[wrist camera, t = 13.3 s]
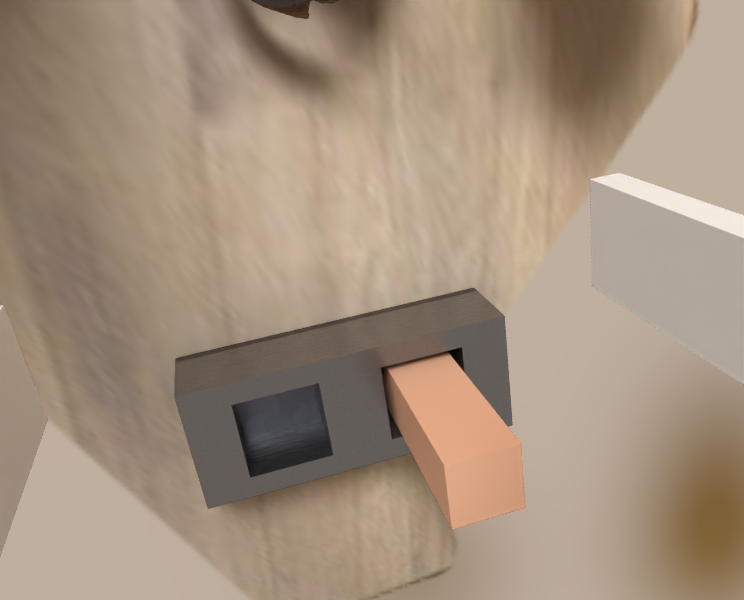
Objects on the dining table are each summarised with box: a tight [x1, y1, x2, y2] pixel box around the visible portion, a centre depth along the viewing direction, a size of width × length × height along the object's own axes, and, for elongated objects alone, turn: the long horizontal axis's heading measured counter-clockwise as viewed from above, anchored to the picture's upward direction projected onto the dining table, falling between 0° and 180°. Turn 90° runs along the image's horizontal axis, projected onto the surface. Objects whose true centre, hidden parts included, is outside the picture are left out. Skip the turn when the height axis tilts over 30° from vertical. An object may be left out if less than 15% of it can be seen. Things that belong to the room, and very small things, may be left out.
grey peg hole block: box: [174, 288, 512, 509], centre depth 45 cm, size 20×8×5 cm, turn 98°
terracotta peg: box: [381, 351, 525, 529], centre depth 41 cm, size 4×4×14 cm
